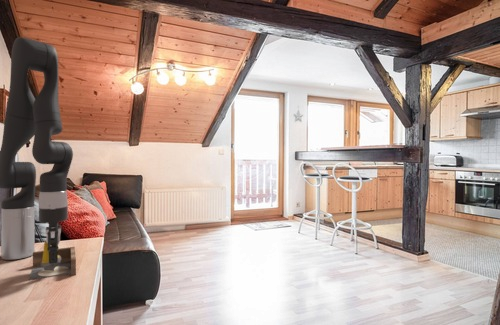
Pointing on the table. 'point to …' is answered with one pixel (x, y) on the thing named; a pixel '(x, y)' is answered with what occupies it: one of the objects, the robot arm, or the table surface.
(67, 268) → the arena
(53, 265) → the drill bit
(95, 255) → the table surface
